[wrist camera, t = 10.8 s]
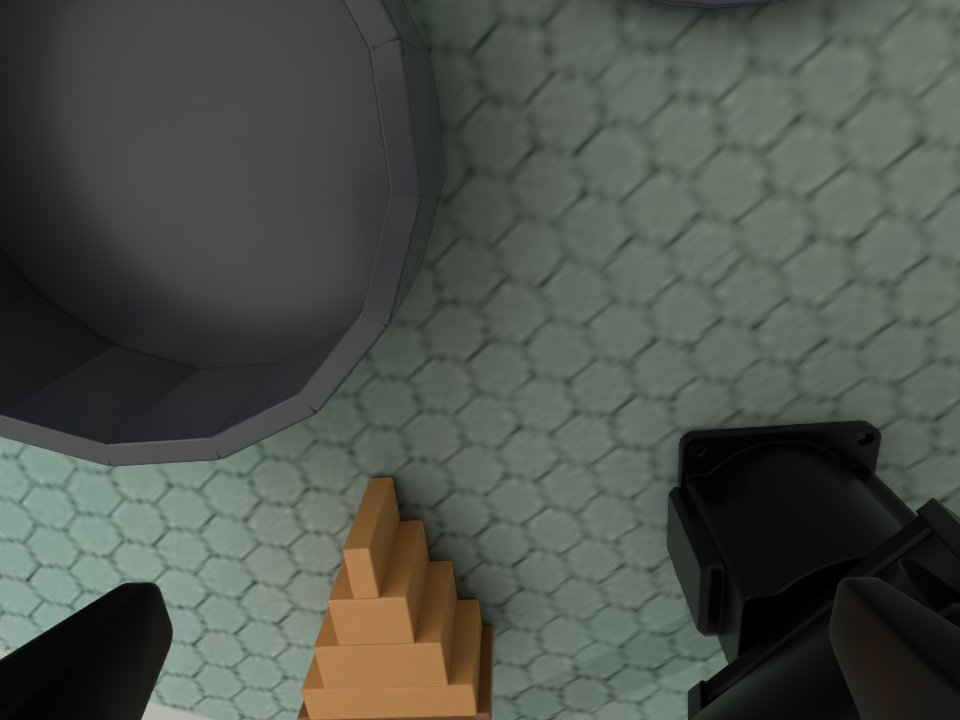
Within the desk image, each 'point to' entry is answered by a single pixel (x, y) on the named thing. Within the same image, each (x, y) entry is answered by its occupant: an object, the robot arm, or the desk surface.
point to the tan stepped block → (397, 629)
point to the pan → (203, 214)
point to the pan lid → (715, 3)
